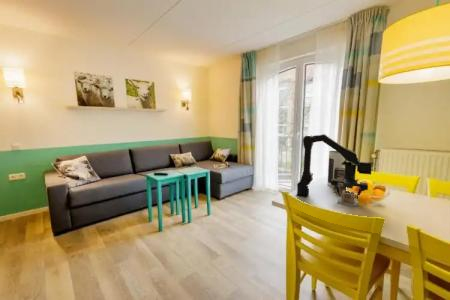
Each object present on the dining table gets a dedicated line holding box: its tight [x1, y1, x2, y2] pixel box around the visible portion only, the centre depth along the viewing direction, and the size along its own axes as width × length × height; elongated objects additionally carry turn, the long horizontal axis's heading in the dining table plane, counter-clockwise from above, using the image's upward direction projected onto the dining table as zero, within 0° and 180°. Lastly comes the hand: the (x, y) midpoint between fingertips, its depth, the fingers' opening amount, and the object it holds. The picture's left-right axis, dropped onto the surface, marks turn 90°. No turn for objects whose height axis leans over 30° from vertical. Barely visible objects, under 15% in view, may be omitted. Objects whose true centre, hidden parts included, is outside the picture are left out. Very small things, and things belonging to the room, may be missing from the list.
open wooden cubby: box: [341, 190, 355, 203], centre depth 128 cm, size 6×6×6 cm
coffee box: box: [332, 167, 346, 194], centre depth 145 cm, size 9×6×16 cm
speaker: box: [327, 150, 345, 188], centre depth 158 cm, size 11×10×26 cm
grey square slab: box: [337, 193, 359, 208], centre depth 128 cm, size 10×10×5 cm
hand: (347, 197), depth 128 cm, fingers open, 9 cm apart
